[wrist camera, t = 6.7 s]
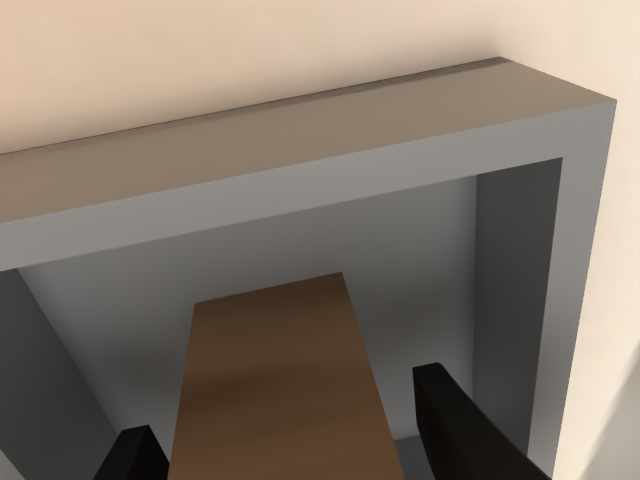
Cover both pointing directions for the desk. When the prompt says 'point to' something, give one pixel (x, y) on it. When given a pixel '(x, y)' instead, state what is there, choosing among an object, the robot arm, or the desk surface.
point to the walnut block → (281, 390)
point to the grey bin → (305, 252)
